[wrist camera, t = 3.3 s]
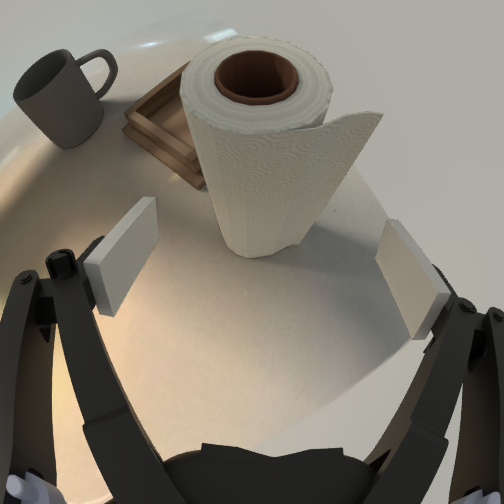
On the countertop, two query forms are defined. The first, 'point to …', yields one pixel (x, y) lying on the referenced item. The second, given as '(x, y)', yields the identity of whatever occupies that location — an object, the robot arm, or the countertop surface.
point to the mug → (63, 96)
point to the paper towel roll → (267, 139)
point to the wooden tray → (166, 129)
